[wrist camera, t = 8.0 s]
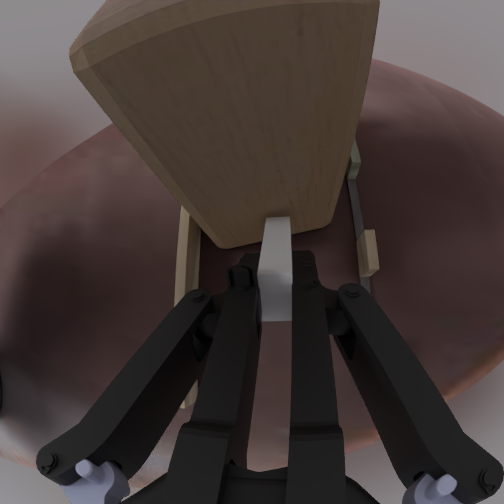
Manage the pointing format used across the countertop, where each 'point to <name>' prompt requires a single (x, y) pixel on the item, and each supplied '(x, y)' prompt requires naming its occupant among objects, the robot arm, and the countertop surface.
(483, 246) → the countertop surface
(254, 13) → the wooden block
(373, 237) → the trap lane
